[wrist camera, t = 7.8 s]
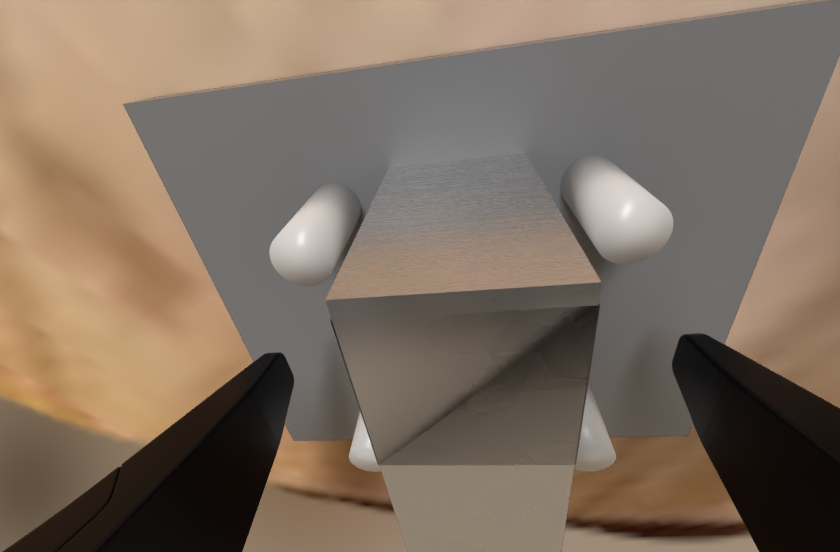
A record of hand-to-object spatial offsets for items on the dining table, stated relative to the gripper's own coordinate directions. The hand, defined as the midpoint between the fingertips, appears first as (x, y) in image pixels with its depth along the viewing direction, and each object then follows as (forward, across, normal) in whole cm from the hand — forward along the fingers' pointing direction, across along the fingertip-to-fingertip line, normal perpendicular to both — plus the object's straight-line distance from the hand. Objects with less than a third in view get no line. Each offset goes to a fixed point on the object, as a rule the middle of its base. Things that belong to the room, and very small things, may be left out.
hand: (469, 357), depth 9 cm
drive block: (+2, 0, 0) cm, 2 cm away
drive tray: (+3, 0, 0) cm, 3 cm away
